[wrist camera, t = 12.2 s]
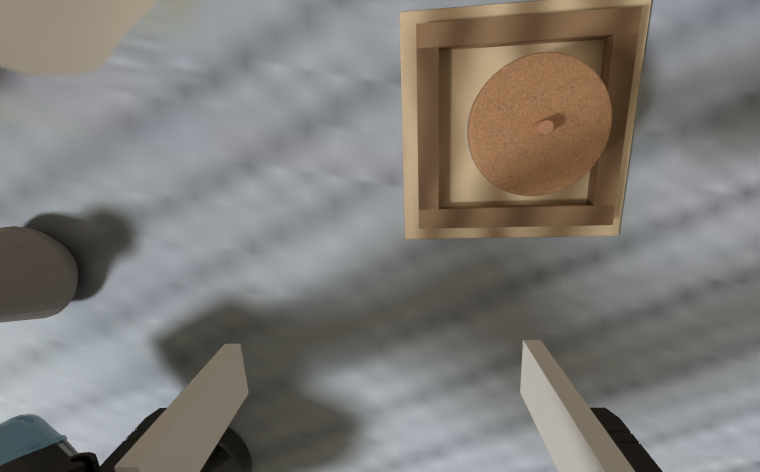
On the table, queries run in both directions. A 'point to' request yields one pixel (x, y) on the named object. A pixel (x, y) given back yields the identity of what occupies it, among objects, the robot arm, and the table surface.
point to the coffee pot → (34, 275)
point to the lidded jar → (539, 124)
